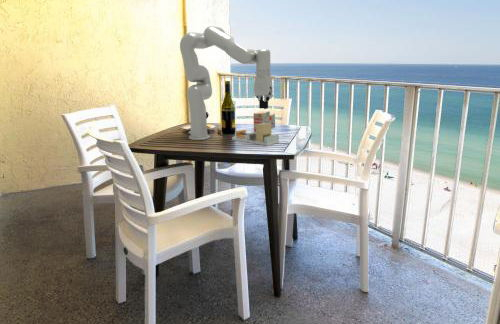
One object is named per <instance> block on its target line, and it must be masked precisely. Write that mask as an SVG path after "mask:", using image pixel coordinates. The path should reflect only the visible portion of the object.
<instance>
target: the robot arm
mask: <svg viewBox="0 0 500 324" xmlns="http://www.w3.org/2000/svg"><path fill="white" fill-rule="evenodd" d="M213 46H215V47H216V48H219V49H220V50H222V51H223V52H225V53H226V55H228V57H230V58H231V59H233V60H235V61H237V62H238V63H240V64H242V65H256V66H255V68H256V70H255V75H256V76H255V77H254V81H253V82H254V83H253V94H254V97H255V98H257V101H258V102H259V104H258V105H259V109H263V110H266V109H269V101H270V99H272V98H273V97H274V94H273V91H274V89H273V86H274V85H273V80H272V76H271V50H269V49H265V48H264V49H263V48H262V49H249V48H247V49H246V48H245V47H243V46H241V45H239V44H238V43H236V42H235V39H234V37H233V36H231V35H229V34H228V33H226V32H225V30H224V29H223V28H222V27H219V26H214V25H213V26H212V25H210V26H207V27H206V28H205V29H204V31H203V32H202V33H201V32H187V33H185V34H184V35H183V36H182V38H181V39H180V42H179V50H180V54H181V58H182V63H183V67H184V73H185V77H186V80H187V81H188V82H190V83H196V84H192V85H190V86H189V87H188V89H187V90H186V91H187V92H186V98H187V100H188V107H189V108H188V109H189V121H190V130H189V131H188V132H187V133H188V134H190V135H189V136H188V140H192V141H201V140H202V141H203V140H208V139H210V138H211V135H209V134H208V127H207V126H208V123H207V122H208V121H207V107H206V104H205V101H206V100H208V99H210V98H211V97H212V95H213V87H212V81H211V76H210V72H209V70H208V69H207V67H206V66H204V65H200V63H199V58H198V55H197V53H196V51H195V49H199V50H203V49H207V48H211V47H213Z"/></svg>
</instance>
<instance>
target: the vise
mask: <svg viewBox="0 0 500 324" xmlns="http://www.w3.org/2000/svg"><path fill="white" fill-rule="evenodd" d="M231 139H232V141H237V142H243V143H248V144H256V145H260V146H266V147H268V146H272V145H276V144H279V143H280V134H271V136H267V137H264V142H262V141H256V138H255V139H251V140H249V139H247V135H244V136H239V137H236V135H234V136H232V137H231Z"/></svg>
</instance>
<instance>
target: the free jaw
mask: <svg viewBox="0 0 500 324" xmlns="http://www.w3.org/2000/svg"><path fill="white" fill-rule="evenodd" d="M244 135H247V139H249V140H251V139H255V138H256V132H254V131H253V132H247V130H246V129H242V130H236V131H235V136H236V137H239V136H244Z"/></svg>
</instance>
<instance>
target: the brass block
mask: <svg viewBox="0 0 500 324" xmlns="http://www.w3.org/2000/svg"><path fill="white" fill-rule="evenodd" d="M271 135H272V129H271V123H261V124H256V141H262V142H264V137H267V136H271Z"/></svg>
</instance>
